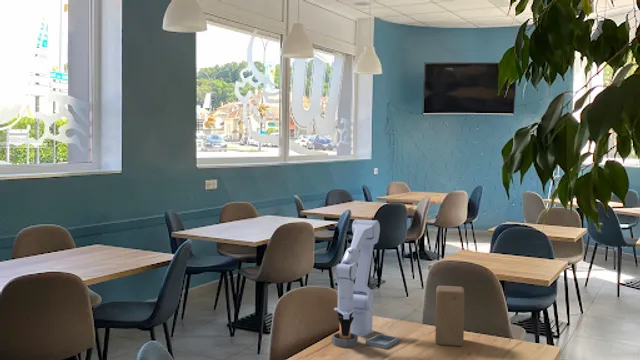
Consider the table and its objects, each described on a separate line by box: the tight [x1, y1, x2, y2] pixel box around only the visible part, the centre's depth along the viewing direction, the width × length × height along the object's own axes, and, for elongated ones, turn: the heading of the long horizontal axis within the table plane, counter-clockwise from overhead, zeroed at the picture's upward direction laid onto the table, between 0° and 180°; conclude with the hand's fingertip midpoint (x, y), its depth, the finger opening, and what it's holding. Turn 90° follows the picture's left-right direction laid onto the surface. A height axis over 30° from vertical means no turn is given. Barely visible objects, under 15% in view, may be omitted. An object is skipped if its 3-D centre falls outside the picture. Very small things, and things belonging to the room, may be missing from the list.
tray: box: [365, 333, 400, 350], centre depth 222 cm, size 10×8×2 cm
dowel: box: [339, 323, 351, 340], centre depth 222 cm, size 4×4×8 cm
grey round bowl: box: [331, 332, 359, 348], centre depth 222 cm, size 9×9×3 cm
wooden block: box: [434, 285, 465, 347], centre depth 226 cm, size 10×10×20 cm
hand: (345, 333), depth 222 cm, fingers closed on dowel, 4 cm apart
